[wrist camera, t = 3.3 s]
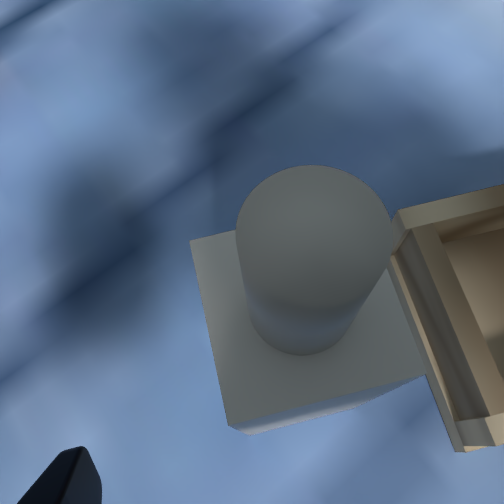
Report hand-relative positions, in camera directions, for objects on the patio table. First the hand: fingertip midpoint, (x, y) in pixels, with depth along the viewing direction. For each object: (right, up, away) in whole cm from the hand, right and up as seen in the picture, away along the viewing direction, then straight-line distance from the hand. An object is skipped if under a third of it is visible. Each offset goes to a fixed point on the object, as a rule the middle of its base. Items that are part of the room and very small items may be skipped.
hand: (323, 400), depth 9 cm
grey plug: (0, -2, +9) cm, 9 cm away
